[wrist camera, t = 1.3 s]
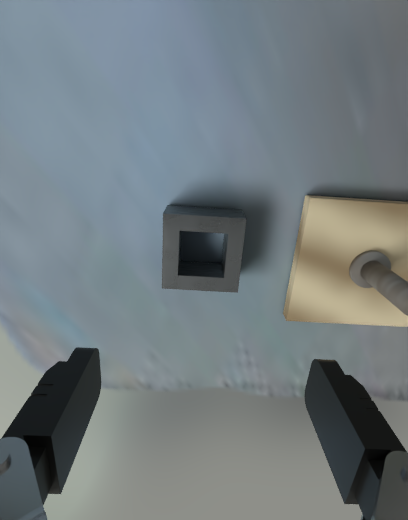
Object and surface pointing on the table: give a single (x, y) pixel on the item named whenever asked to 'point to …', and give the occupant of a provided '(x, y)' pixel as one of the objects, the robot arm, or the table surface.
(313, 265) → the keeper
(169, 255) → the link
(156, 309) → the table surface
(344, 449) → the robot arm
